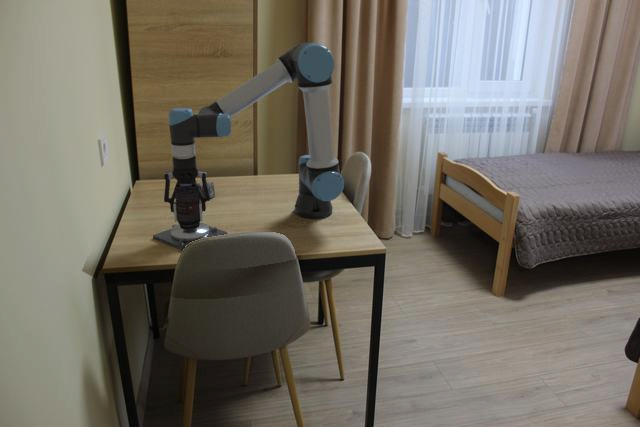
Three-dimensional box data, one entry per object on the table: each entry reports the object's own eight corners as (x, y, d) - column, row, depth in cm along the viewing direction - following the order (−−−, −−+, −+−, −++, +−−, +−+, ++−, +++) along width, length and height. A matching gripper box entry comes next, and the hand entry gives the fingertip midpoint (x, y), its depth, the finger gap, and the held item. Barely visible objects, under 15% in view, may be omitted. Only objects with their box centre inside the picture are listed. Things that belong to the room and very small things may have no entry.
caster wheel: (202, 197, 227) (221, 196, 224) (187, 199, 217) (207, 198, 213) (200, 182, 226) (220, 181, 223) (185, 183, 216) (206, 182, 212)
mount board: (227, 235, 181) (227, 227, 180) (186, 252, 167) (186, 244, 166) (193, 223, 191) (192, 215, 190) (152, 238, 178) (151, 230, 177)
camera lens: (204, 228, 176) (201, 187, 171) (180, 232, 173) (176, 189, 167) (199, 220, 183) (196, 180, 177) (176, 223, 180) (172, 183, 174)
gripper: (216, 152, 174) (220, 215, 182) (153, 153, 171) (160, 217, 179) (215, 158, 167) (219, 223, 175) (149, 159, 164) (156, 225, 172)
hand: (189, 220), depth 177 cm, fingers closed on camera lens, 8 cm apart
